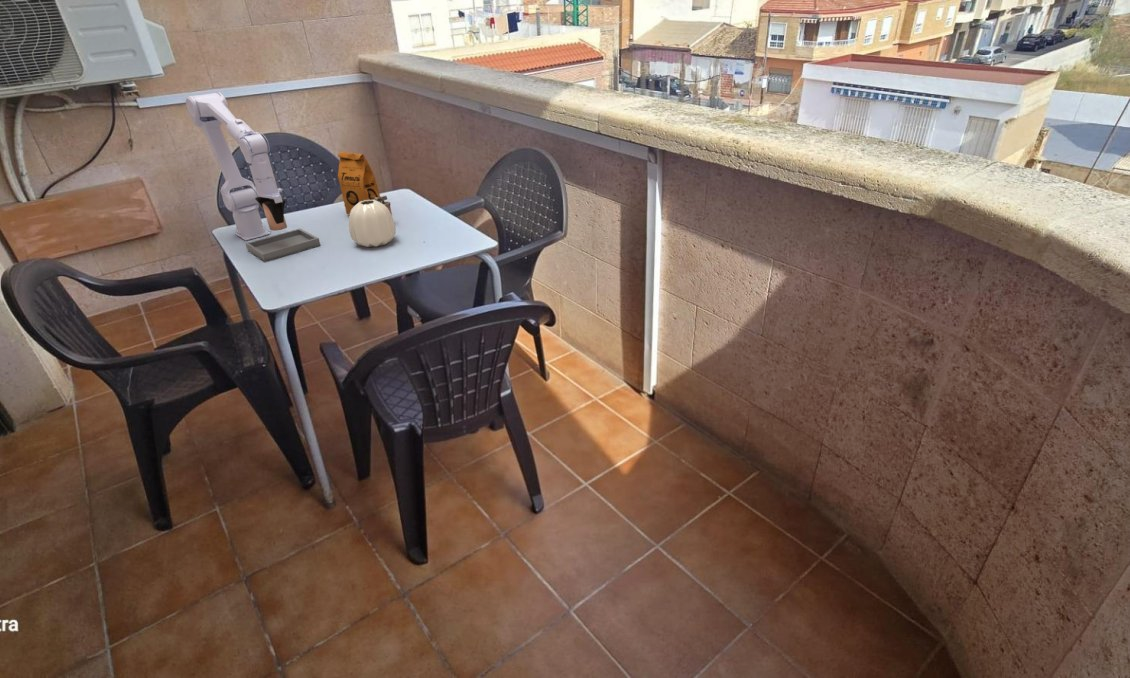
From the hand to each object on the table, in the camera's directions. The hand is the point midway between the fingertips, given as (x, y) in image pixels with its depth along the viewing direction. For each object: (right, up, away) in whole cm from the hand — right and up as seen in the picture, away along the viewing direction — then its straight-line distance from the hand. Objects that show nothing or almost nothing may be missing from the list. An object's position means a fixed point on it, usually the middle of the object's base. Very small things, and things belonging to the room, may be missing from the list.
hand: (276, 220), depth 178 cm
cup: (0, -2, +1) cm, 2 cm away
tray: (0, -8, +5) cm, 9 cm away
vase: (+28, -6, +7) cm, 30 cm away
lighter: (+27, +2, +20) cm, 34 cm away
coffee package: (+17, +9, +31) cm, 37 cm away
